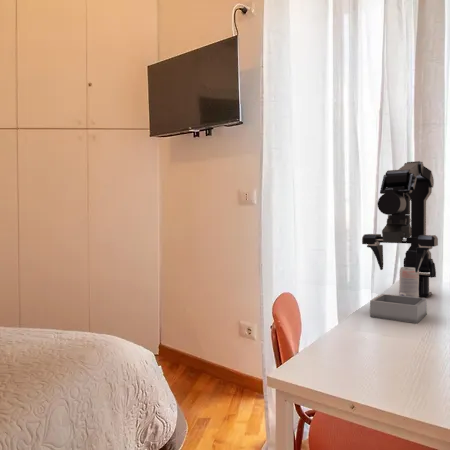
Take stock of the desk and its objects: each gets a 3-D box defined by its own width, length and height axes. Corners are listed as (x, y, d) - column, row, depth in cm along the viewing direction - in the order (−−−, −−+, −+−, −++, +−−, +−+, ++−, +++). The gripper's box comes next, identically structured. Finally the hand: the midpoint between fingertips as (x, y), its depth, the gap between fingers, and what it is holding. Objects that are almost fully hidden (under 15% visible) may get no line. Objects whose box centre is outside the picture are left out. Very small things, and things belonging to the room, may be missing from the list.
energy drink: (415, 305, 125) (415, 267, 125) (421, 309, 120) (421, 269, 119) (396, 305, 126) (397, 266, 125) (402, 309, 120) (402, 269, 120)
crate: (382, 308, 122) (382, 293, 121) (426, 314, 114) (426, 298, 114) (370, 316, 112) (370, 300, 112) (417, 323, 105) (417, 306, 105)
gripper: (355, 215, 112) (355, 271, 112) (430, 214, 100) (430, 277, 101) (368, 215, 121) (368, 267, 121) (438, 214, 109) (438, 272, 110)
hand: (398, 271), depth 113 cm, fingers open, 9 cm apart
